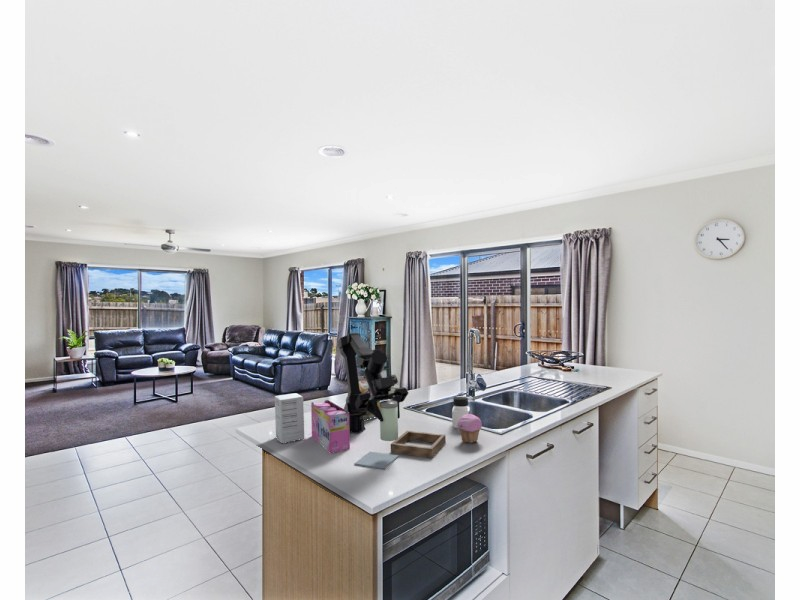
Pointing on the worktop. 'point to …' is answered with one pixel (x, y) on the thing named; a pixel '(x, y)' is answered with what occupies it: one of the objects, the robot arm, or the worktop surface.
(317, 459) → the worktop surface
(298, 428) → the supplement box
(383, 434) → the plastic jar
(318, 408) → the gum box
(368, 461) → the rubber mat
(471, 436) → the cupcake
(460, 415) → the medicine bottle
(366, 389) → the milk carton
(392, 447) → the walnut frame
